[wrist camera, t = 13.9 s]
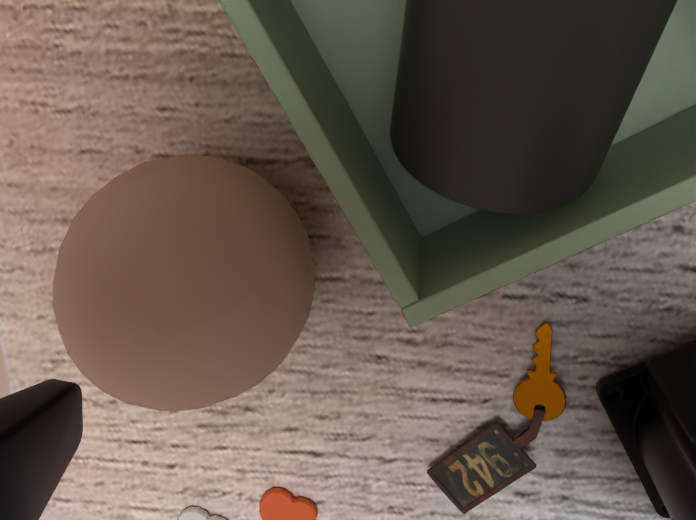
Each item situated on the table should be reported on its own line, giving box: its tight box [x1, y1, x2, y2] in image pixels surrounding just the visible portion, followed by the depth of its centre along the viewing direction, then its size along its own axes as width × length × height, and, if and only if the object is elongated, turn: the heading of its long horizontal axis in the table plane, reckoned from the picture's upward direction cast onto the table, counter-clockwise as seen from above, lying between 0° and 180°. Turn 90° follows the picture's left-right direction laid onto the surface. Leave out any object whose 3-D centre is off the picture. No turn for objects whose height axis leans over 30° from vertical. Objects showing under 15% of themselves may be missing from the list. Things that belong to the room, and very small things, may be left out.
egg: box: [53, 154, 315, 411], centre depth 18 cm, size 7×7×8 cm
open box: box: [219, 0, 696, 327], centre depth 16 cm, size 11×11×6 cm
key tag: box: [427, 322, 566, 514], centre depth 23 cm, size 8×3×1 cm, turn 151°
